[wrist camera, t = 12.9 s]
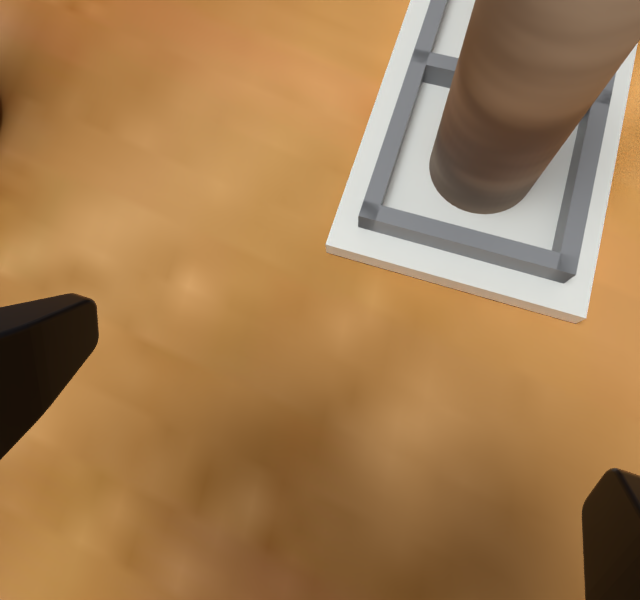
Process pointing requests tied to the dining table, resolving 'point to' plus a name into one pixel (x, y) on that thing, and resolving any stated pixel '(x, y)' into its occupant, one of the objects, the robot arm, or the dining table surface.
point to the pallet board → (461, 226)
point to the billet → (524, 93)
